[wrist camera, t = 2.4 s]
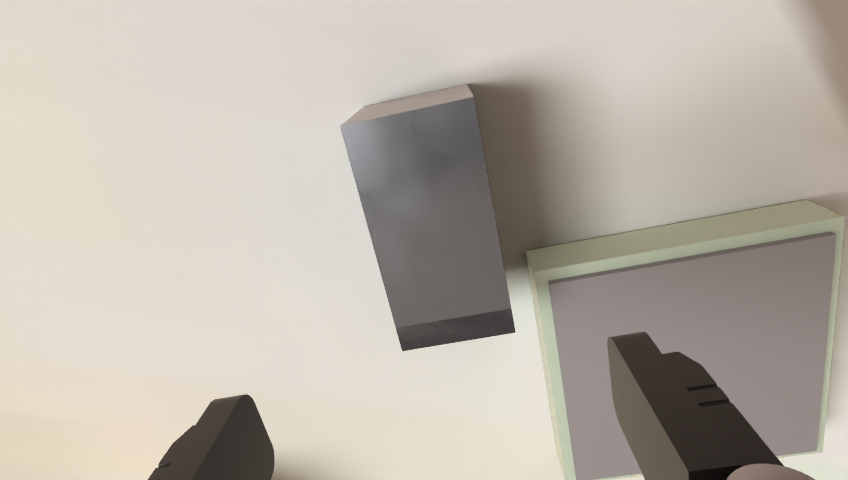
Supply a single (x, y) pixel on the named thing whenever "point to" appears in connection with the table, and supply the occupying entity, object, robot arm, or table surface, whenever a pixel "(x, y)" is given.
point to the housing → (431, 216)
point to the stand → (693, 323)
